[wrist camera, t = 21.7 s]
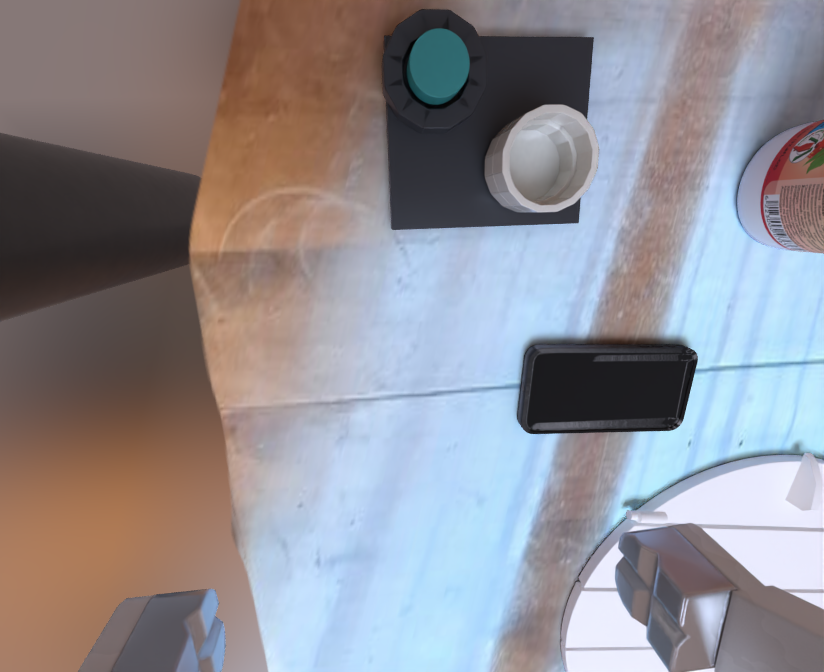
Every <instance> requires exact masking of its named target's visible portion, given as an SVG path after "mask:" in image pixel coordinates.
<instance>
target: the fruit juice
mask: <svg viewBox="0 0 824 672" xmlns="http://www.w3.org/2000/svg"><path fill="white" fill-rule="evenodd" d="M737 206H738V214H739V218H740V221H741V224H742V226H743V228H744V229H745V231H746V232H747V233H748V234H749V235H750V236H751V237H752V238H753V239H754V240H756V241H757V242H759V243H761V244H763V245H765V246H768V247H772V248H776V249H782V250H792V251H803V252H814V253H824V120H820V121H815V122H810V123H806V124H802V125H799V126H796V127H793V128H791V129H788V130H786V131H784V132H782V133H780V134H778V135H777V136H775V137H774V138H772V139H771V140H770V141H768V142H767V143H766V144H765V145H764V146H763V147H762V148H761V149H760V150H759V151H758V152H757V153H756V154H755V155H754V157H753V158H752V160H751V161H750V163H749V164H748V166H747V168H746V170H745V172H744V174H743V177H742V179H741V182H740V186H739V191H738V199H737Z"/></svg>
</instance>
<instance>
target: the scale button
mask: <svg viewBox="0 0 824 672" xmlns="http://www.w3.org/2000/svg"><path fill="white" fill-rule="evenodd" d="M469 67H470V60H469V54H468V51H467V48H466V46H465V44H464V42H463V41H462V40H461V38H460V37H459V36H458V35H456V34H455V33H453V32H452V31H450V30H447V29H442V28H436V29H431V30H429V31H427V32H425V33H423V34H422V35H421V36H420V37H419V38H418V39H417V40H416V42H415V43H414V45H413V47H412V50H411V53H410V57H409V60H408V64H407V79H408V83H409V86H410V88H411V90H412V91H413V93H414V94H415V95H416V96H417V97H418V98H419V99H420V100H422V101H423V102H425V103H428V104H433V105H438V104H443V103H446V102H448V101H449V100H451V99H452V98H453V97H454V96H455V95H456V94H457V93H458V91H459V90H460V89H461V88H462V86H463V85H464V83H465V81H466V79H467V77H468V73H469Z"/></svg>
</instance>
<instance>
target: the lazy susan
mask: <svg viewBox="0 0 824 672" xmlns="http://www.w3.org/2000/svg"><path fill="white" fill-rule="evenodd" d="M626 516H627V519H626V520H624V521H623V522H622V523H621V524H620V525H619V526H618V527H617V528H616V529H615V530H614V531H613V532H612V533H611V534H610V535H609V536H608V537H607V538H606V540H605V541H604V542H603V543H602V544H601V545H600V547H599V548H598V549H597V550H596V552H595V553H594V554H593V556H592V557H591V558H590V560H589V561H588V563H587V564H586V566H585V567H584V569H583V571H582V572H581V574H580V576H579V580H580V582H576V583H575V586H574V588H573V590H572V592H571V595H570V597H569V600H568V603H567V606H566V609H565V613H564V617H563V622H562V629H561V639H562V640H561V653H562V660H563V664H564V668H565V671H566V672H669V671H668V669H667V668H666V667H665V665H664V664H663V662H662V661H661V659H660V658H659V656H658V655H657V654H656V652H655V651H654V649H653V648H652V646H651V645H650V643H649V642H648V640H647V639H646V626H645V625H643V624H641V623H640V622H638V621H637V620H635V619H634V618H632V617H631V616H630V614H629V613H628V611H627V609H626V608H625V606H624V605H623V603H622V601H621V598H620V596H619V594H618V591H617V586H616V582H615V569H616V565H617V563H618V562H619V561H620V560H621V558H622V557H623V556H624V555H623V554H622V553H621V551H620V550H619V549H618V544H619V538H620V537H621V535H622V534H623V533H624V532H631V531H638V530H645V529H652V528H658V527H668V526H672V525H679V524H686V523H693V524H695V525H697V526H699V527H701V528H702V529H703V530H704V531H705V532H706V533H707V534H708V535H709V536H711V537H712V538H713V539H714V540H715V541H716V542H717V543H718V544H719V545H720V546H722V547H723V548H724V549H725V550H726V551H727V552H728V553H729V554H730V555H731V556H733V557H734V558H735V559H736V560H737V561H738V562H739V563H740V564H741V565H743V566H744V567H745V568H746V569H747V570H748V571H749V572H750V573H751V574H752V575H754V576H755V577H756V578H757V579H758V580H759V581H760V582H761V583H762V584H763V585H765V586H771V585H773V586H775V587H778V588H780V589H782V590H784V591H786V592H788V593H790V594H792V595H795V596H797V597H799V598H801V599H803V600H805V601H807V602H809V603H812V604H814V605H816V606H818V607H820V608H822V609H824V460H822V459H818V458H815V457H814V456H813V454H812V453H804V455H803V456H798V455H769V456H759V457H753V458H747V459H742V460H738V461H734V462H730V463H726V464H723V465H720V466H717V467H714V468H711V469H708V470H706V471H703V472H701V473H698V474H696V475H694V476H691V477H689V478H687V479H685V480H683V481H681V482H679V483H677V484H675V485H674V486H672V487H670V488H668V489H667V490H665V491H663V492H662V493H660V494H659V495H657V496H655V497H654V498H652V499H651V500H650V501H648V502H647V503H645V504H644V505H643V506H641V507H640V508H639V509H637V510H635V511H633V510H627V512H626ZM714 669H715V668H711V669H703V670H696V671H689V672H715V671H714Z"/></svg>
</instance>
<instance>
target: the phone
mask: <svg viewBox="0 0 824 672" xmlns="http://www.w3.org/2000/svg"><path fill="white" fill-rule="evenodd" d="M697 360H698V356H697V353H696V352H695V351H694V350H692V349H690V348H688V347H685V346H683V345H603V344H539V345H534V346H532V347H530V348H529V349H528V350H527V352H526V353H525V357H524V364H523V373H522V381H521V390H520V398H519V407H518V415H517V419H518V422H519V424H520V425H521V427H522V428H523V429H524V430H525V431H526V432H527V433H530V434H553V433H595V432H637V431H670V430H674V429H676V428H677V427H679V426H680V424H681V423H682V421H683V419H684V415H685V411H686V406H687V402H688V398H689V394H690V390H691V386H692V382H693V378H694V373H695V369H696V365H697Z"/></svg>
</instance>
